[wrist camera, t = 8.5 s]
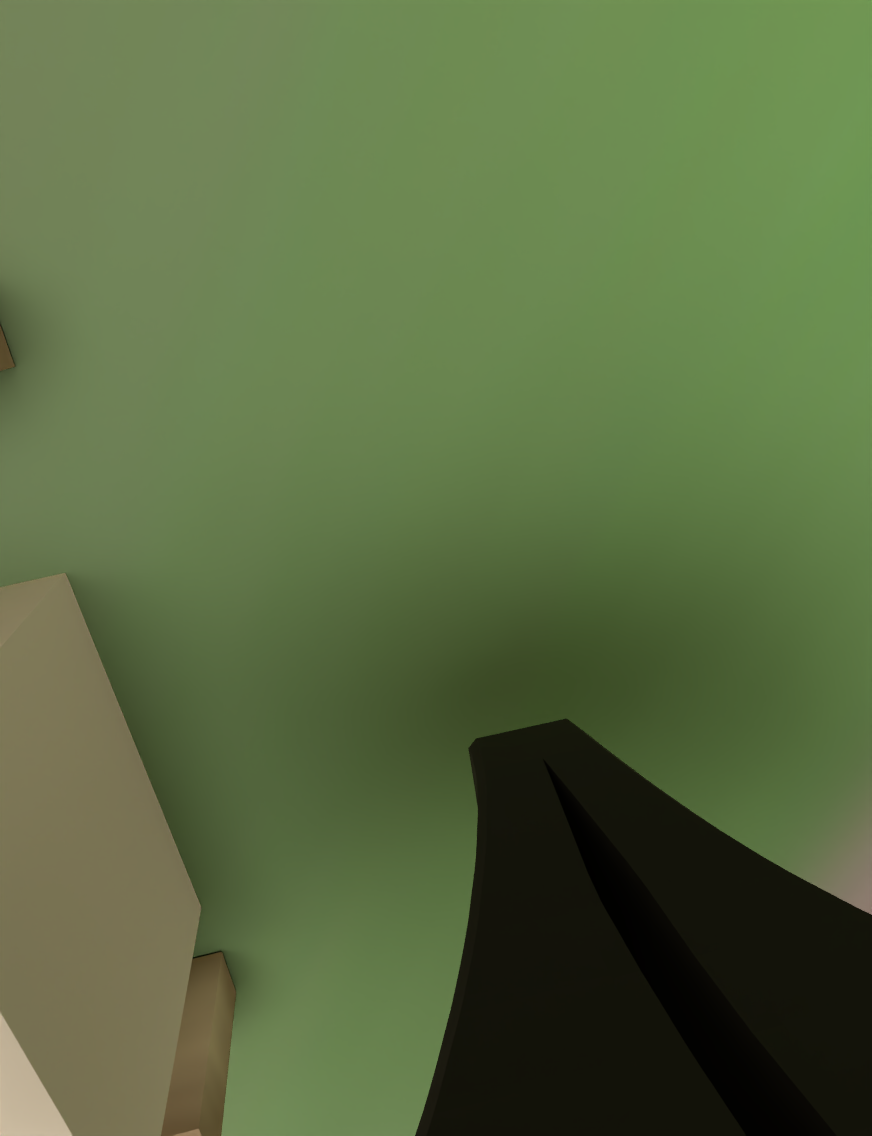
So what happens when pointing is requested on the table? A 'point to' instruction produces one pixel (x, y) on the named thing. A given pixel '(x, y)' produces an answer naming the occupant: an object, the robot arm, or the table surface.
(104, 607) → the table surface
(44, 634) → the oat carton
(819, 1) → the table surface
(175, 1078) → the display bay
